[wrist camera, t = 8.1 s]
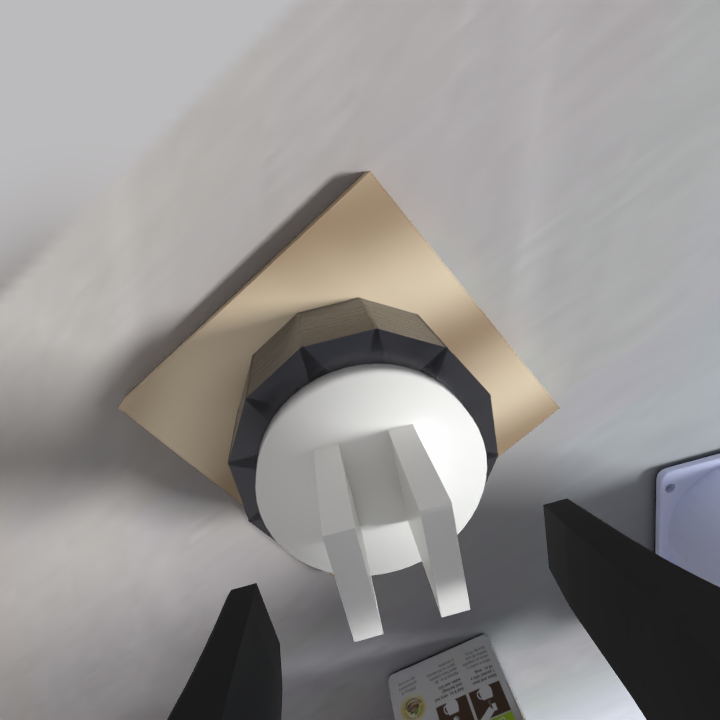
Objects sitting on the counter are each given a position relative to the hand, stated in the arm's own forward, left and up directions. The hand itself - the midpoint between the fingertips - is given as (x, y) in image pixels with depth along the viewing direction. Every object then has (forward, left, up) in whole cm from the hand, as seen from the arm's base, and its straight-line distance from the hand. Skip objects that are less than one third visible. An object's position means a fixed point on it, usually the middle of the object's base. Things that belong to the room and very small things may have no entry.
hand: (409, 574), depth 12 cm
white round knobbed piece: (0, 0, -7) cm, 7 cm away
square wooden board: (0, 0, -10) cm, 10 cm away
